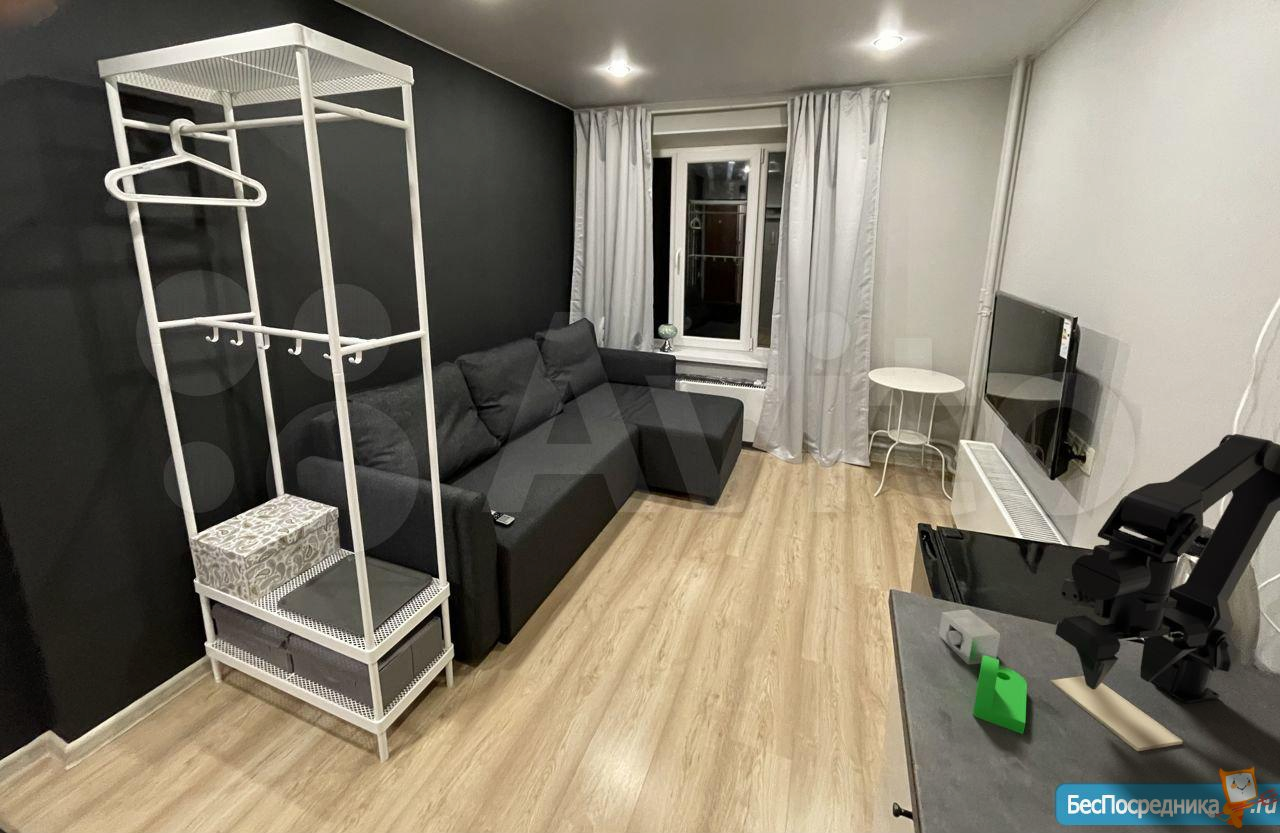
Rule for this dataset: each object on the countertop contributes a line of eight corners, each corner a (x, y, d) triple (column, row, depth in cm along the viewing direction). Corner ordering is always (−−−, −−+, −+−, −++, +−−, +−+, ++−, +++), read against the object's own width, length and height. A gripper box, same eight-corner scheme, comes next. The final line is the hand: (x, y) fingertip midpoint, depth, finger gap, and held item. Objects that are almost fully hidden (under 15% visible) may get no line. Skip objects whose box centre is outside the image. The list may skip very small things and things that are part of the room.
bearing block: (963, 637, 99) (968, 609, 97) (995, 663, 92) (1000, 633, 91) (938, 640, 98) (942, 612, 97) (967, 667, 91) (972, 637, 90)
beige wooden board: (1090, 677, 89) (1090, 674, 89) (1182, 743, 76) (1182, 740, 76) (1050, 683, 88) (1050, 680, 88) (1137, 751, 75) (1138, 748, 75)
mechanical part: (1022, 735, 78) (1032, 685, 76) (972, 716, 81) (980, 667, 79) (1025, 685, 88) (1033, 639, 86) (980, 670, 91) (987, 626, 89)
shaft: (979, 636, 97) (982, 617, 96) (995, 649, 94) (999, 630, 93) (941, 641, 96) (944, 622, 95) (956, 654, 92) (959, 635, 92)
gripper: (1138, 551, 87) (1117, 641, 90) (1032, 561, 83) (1014, 654, 87) (1223, 589, 76) (1195, 690, 80) (1105, 602, 73) (1082, 707, 76)
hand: (1118, 683), depth 81 cm, fingers open, 9 cm apart
